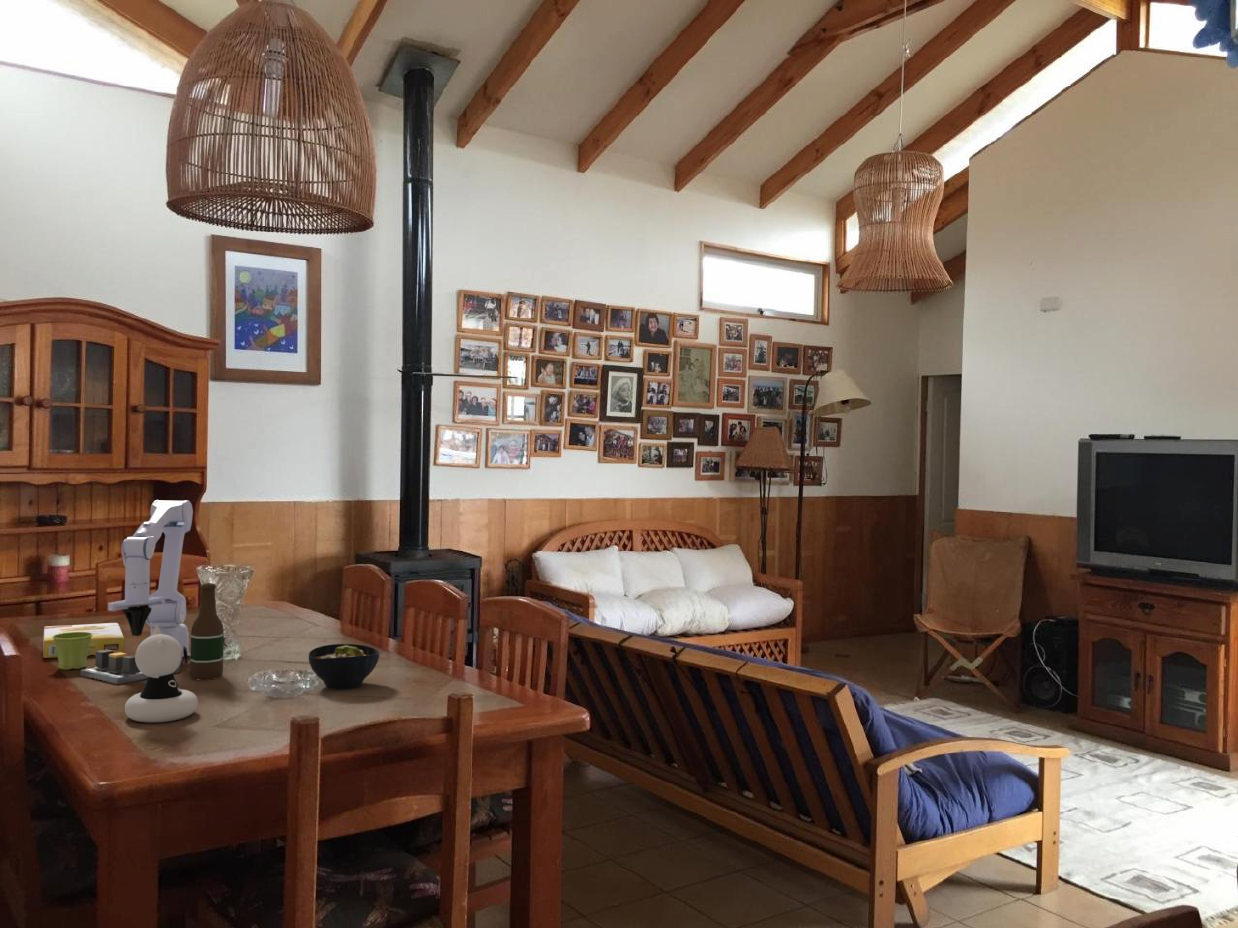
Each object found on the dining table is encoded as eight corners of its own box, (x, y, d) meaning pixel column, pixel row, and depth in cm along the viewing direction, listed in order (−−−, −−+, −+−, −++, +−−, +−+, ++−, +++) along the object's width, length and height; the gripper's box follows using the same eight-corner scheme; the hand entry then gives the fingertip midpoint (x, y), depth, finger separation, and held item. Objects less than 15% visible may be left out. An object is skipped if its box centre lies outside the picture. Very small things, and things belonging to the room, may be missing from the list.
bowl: (315, 696, 237) (315, 654, 237) (302, 681, 252) (303, 642, 252) (386, 690, 245) (386, 649, 245) (369, 675, 260) (370, 637, 260)
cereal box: (43, 640, 272) (42, 624, 296) (43, 660, 272) (41, 642, 296) (125, 636, 282) (118, 620, 307) (125, 655, 282) (117, 638, 307)
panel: (142, 664, 268) (143, 643, 268) (179, 672, 260) (179, 650, 260) (80, 675, 254) (81, 653, 254) (117, 684, 245) (117, 660, 245)
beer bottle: (229, 675, 258) (231, 582, 257) (208, 681, 250) (209, 586, 250) (205, 672, 260) (206, 581, 260) (183, 678, 253) (184, 584, 253)
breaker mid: (119, 667, 256) (120, 652, 256) (126, 669, 254) (126, 653, 254) (108, 669, 253) (108, 654, 253) (115, 671, 252) (115, 655, 251)
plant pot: (74, 672, 257) (75, 639, 257) (43, 670, 259) (43, 636, 259) (100, 665, 266) (100, 632, 266) (70, 662, 268) (70, 630, 268)
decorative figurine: (203, 719, 215) (205, 627, 215) (129, 728, 207) (130, 633, 207) (191, 704, 227) (192, 617, 227) (120, 712, 220) (122, 622, 219)
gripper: (119, 587, 249) (118, 641, 250) (172, 581, 262) (171, 632, 262) (103, 584, 253) (102, 637, 253) (156, 579, 265) (155, 629, 266)
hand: (136, 635), depth 258 cm, fingers closed
